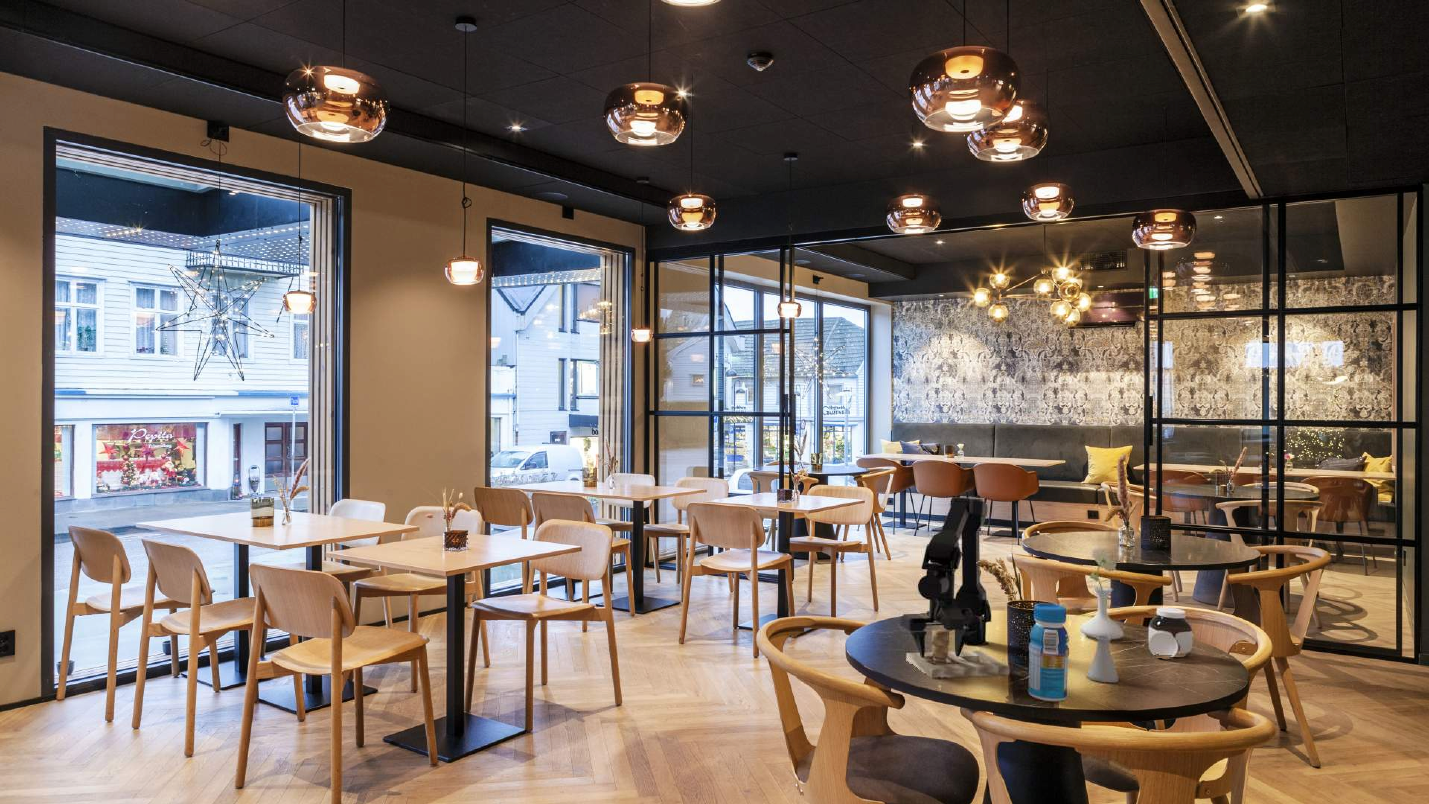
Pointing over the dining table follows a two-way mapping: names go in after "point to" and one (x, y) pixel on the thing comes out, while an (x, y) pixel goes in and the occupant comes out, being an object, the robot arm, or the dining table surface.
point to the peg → (940, 645)
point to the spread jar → (1170, 632)
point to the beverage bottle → (1048, 653)
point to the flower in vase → (1102, 602)
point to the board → (959, 665)
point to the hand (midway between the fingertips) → (940, 656)
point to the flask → (1103, 663)
